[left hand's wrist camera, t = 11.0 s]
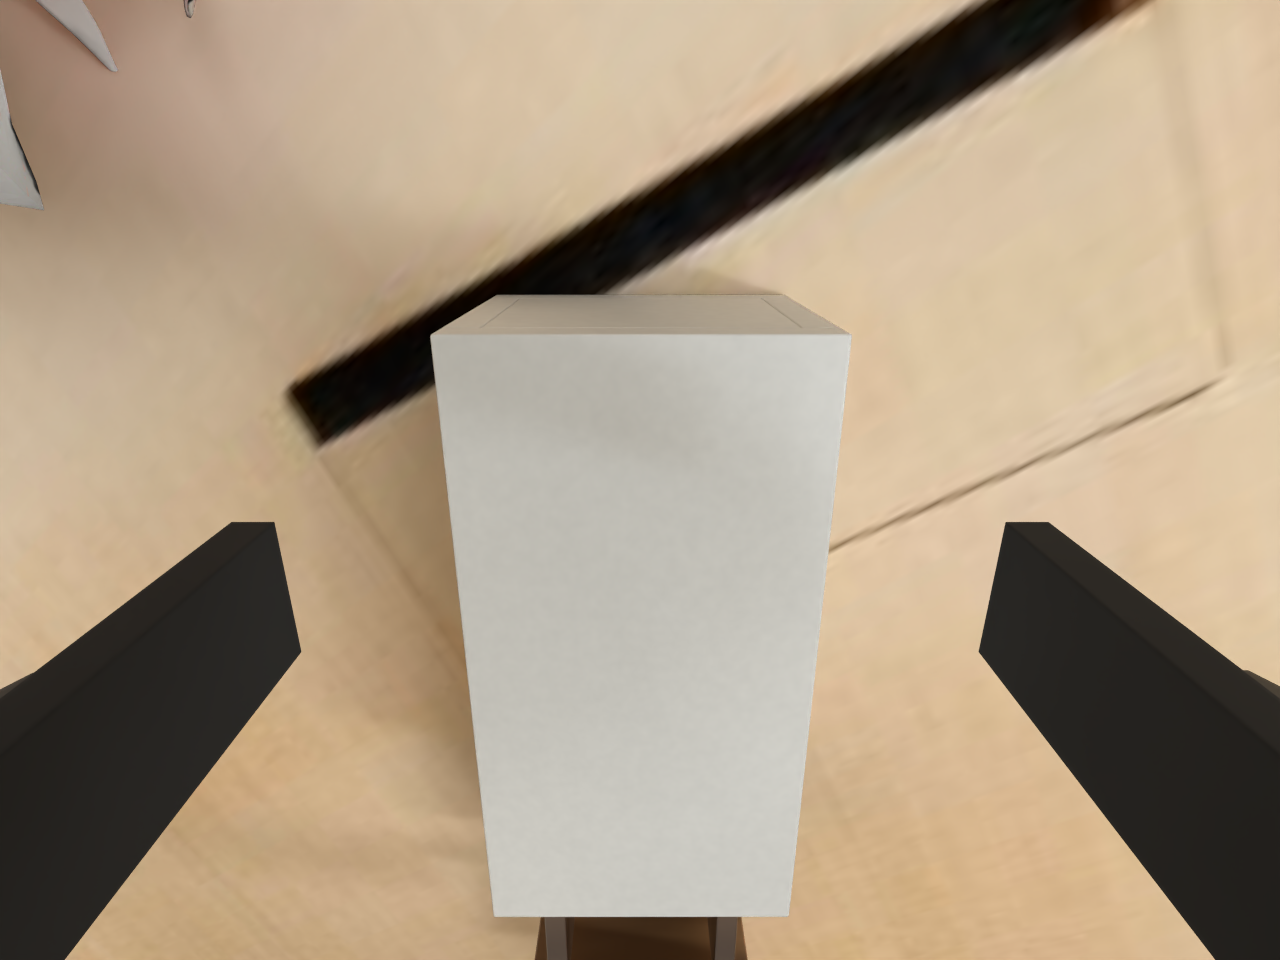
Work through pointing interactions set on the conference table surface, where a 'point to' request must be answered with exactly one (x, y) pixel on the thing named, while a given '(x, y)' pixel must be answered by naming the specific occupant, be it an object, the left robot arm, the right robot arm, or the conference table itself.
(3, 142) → the fish
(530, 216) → the conference table surface
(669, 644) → the cabinet
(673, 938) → the drawer
